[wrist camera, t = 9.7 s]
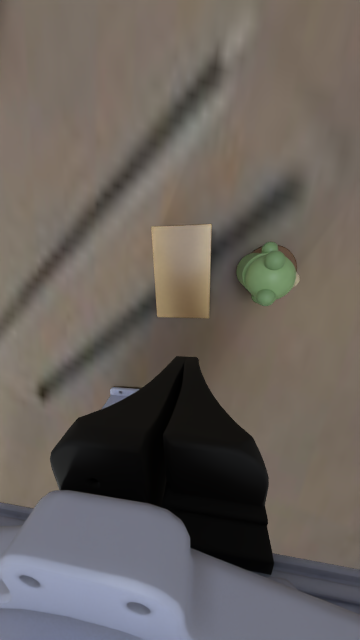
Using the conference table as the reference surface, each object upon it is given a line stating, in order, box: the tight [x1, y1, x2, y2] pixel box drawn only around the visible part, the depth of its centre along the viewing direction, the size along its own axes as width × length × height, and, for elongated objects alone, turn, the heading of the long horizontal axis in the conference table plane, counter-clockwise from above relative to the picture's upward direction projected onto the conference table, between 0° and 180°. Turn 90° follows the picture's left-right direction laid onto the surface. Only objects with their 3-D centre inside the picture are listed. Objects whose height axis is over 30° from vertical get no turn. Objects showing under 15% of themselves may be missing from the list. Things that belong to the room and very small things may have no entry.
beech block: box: [151, 224, 212, 318], centre depth 19 cm, size 5×8×3 cm, turn 2°
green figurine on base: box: [236, 242, 300, 306], centre depth 16 cm, size 8×5×7 cm
